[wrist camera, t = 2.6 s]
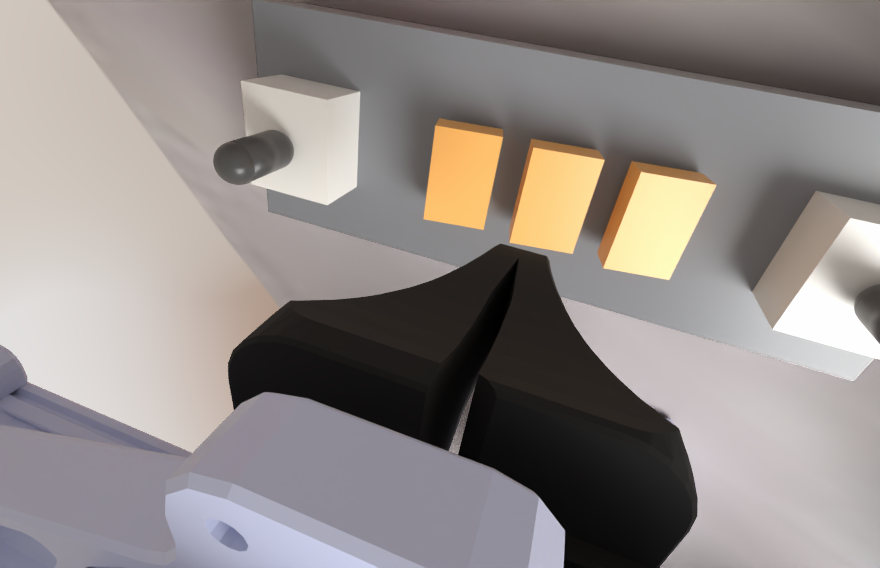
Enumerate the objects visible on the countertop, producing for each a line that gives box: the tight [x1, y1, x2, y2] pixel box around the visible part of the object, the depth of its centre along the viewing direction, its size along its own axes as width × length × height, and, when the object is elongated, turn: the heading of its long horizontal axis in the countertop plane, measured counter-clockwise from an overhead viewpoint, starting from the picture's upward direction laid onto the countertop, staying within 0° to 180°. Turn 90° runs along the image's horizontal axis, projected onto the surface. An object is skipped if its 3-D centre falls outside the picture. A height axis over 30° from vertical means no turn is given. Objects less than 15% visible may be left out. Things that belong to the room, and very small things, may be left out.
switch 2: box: [597, 161, 716, 280], centre depth 15 cm, size 4×2×1 cm, turn 173°
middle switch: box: [509, 139, 605, 254], centre depth 16 cm, size 4×2×1 cm, turn 173°
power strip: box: [252, 0, 880, 382], centre depth 18 cm, size 9×26×4 cm, turn 83°
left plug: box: [213, 75, 360, 205], centre depth 17 cm, size 4×4×6 cm
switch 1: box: [423, 118, 503, 230], centre depth 17 cm, size 4×2×1 cm, turn 173°
